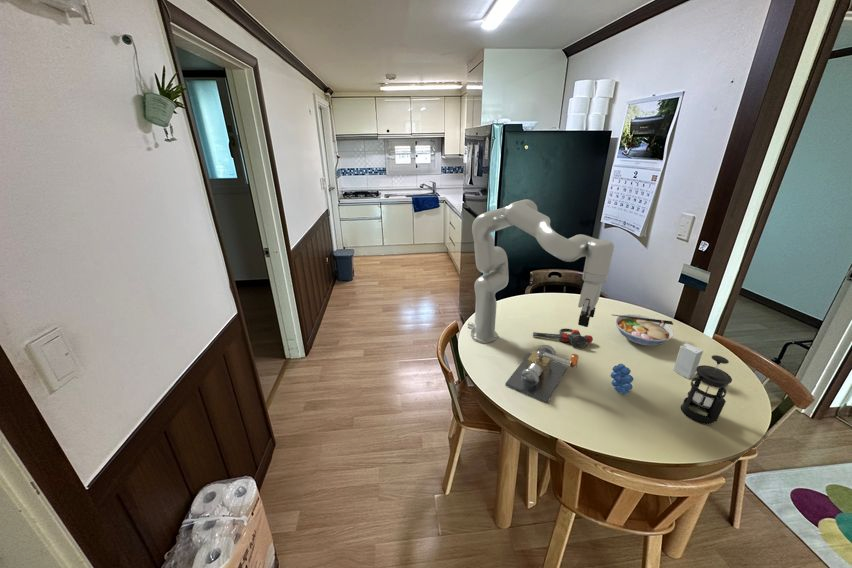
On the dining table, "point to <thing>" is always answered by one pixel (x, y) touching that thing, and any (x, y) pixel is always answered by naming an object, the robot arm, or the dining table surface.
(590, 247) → the robot arm
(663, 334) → the ramen bowl
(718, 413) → the french press
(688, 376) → the skincare box
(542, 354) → the lever
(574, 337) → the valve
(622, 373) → the grapes
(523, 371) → the valve body
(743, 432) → the dining table surface
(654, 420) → the dining table surface
